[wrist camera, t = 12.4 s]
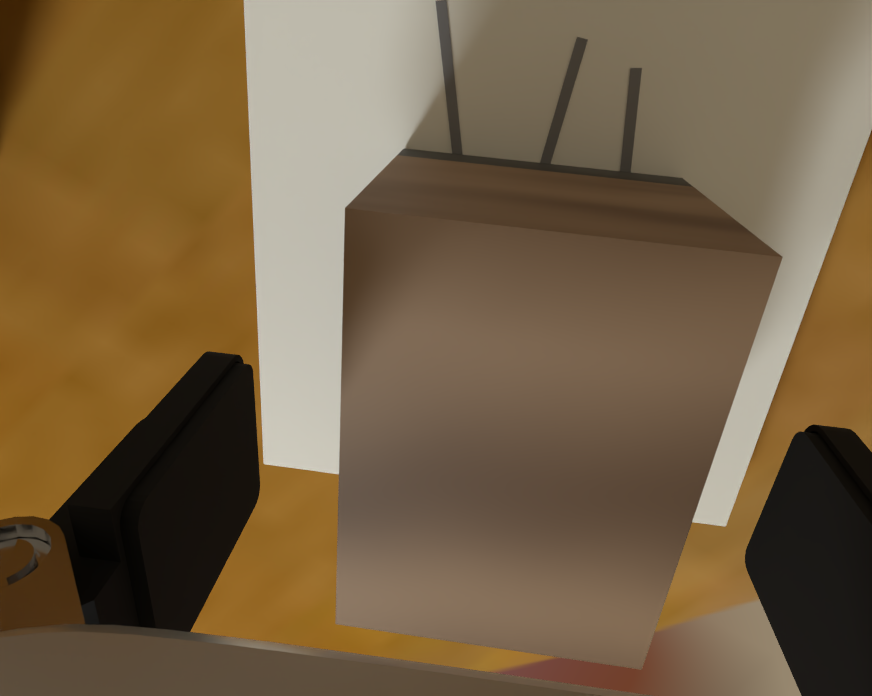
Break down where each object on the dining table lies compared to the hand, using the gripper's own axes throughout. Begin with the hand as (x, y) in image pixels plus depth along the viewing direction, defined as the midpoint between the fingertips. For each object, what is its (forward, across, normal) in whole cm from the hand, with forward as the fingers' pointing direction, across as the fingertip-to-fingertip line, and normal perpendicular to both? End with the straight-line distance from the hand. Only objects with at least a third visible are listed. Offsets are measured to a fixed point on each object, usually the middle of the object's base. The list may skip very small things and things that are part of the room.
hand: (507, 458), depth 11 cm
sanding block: (+6, 0, +1) cm, 6 cm away
